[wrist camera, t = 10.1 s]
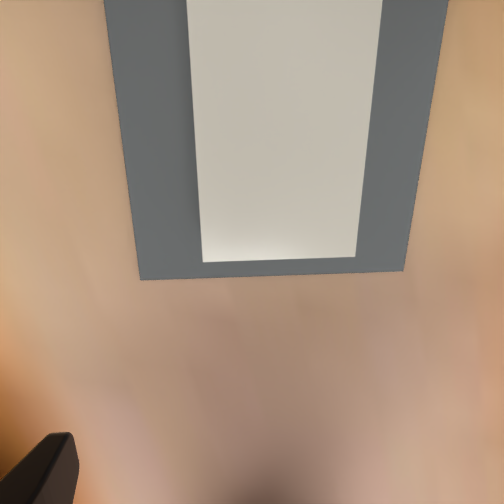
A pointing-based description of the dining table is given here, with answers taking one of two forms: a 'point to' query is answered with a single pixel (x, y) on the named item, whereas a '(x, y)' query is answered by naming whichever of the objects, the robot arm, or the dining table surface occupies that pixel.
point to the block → (281, 124)
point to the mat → (184, 149)
